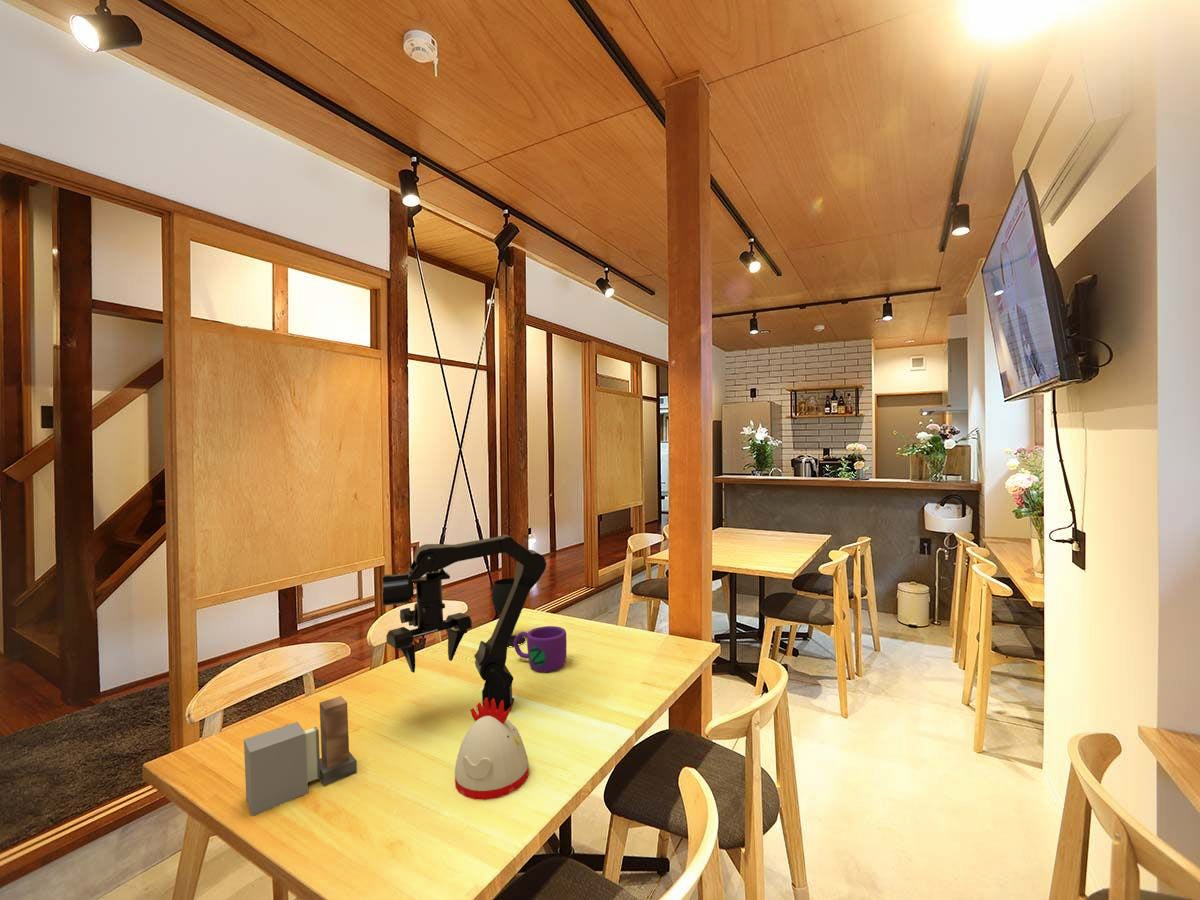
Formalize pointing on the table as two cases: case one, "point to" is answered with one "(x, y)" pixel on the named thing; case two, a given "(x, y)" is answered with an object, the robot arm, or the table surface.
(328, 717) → the wooden post on base
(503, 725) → the kitchen timer
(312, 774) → the pocket door
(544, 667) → the mug
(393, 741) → the table surface
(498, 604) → the wine glass
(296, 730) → the pocket wall
